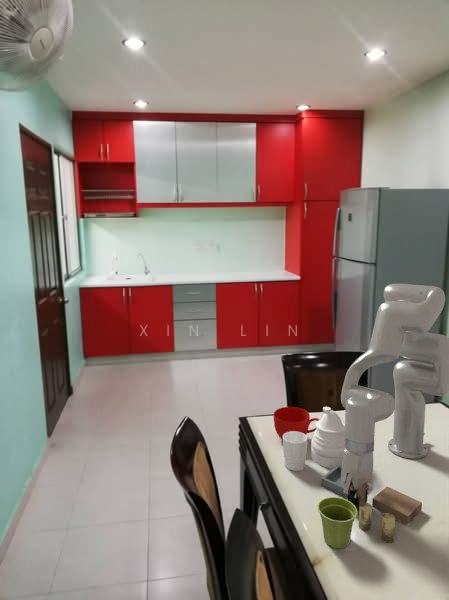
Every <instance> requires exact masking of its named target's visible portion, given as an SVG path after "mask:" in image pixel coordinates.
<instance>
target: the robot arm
mask: <svg viewBox="0 0 449 600" xmlns="http://www.w3.org/2000/svg"><path fill="white" fill-rule="evenodd" d="M384 287H385V288H384V289H383V299H384V302H382V303H381V304H380V305H379V307H378V309H377V312H376V315H375V316H376V317H375V320H374V321H375V322H374V325H373V328H372V334H371V338H370V341H369V345H368V348H367V350H366V351H365V352H364V353H363V354H361V355H360V356H359V357H358V358H356V359H355V361H353V363H352V364H351V365H350V366H349V368H348V369H347V371H346V373H345V378H344V381H343V384H342V388H341V394H340V401H341V405H342V407H343V408H344V409H345V416H344V417H345V419H344V420H345V421H344V423H345V450H344V454H343V460H342V469H341V483H342V484H345V487H344V490H343V492H344V493H346V494H347V495H348V496H347V499H346V500H348V501H350V502H351V503H353V505H355V507H356V509H357V511H358V510H359V497H358V492H359V488H360V487H361V486H362V485H363V484H364V483H365V482H366V489H365V503H368V488H369V485H370V484H369V480H370V479H371V477H372V476H373V474H374V473H373V472H374V452H375V429H376V428H375V427H376V423H378V422H381V421H384V420H387V419H388V418H390V417H391V416H392V414H393V416H394V419H393V436H392V437H393V438H391V439H390V440H388V443H387V447H388V450H389V451H391V453H393V454H394V455H396V456H399V457H402V458H406V459H412V460H413V459H414V460H418V459H423V458H425V457H426V456H427V455H428V453H429V449H428V447H427V445H426V444H424V438H425V437H424V436H425V435H426V433H425V419H426V406H427V405H426V401H425V398H424V395H423V394H428V395H433V396H438V397H445V396H447V395H448V394H449V337H448V336H446V335H444V334H441V333H439V334H438V333H433V332H429V331H430V330H431V329H432V327H433V325H434V324H435V322H436V321H437V319H438V318H439V316H440V314H441V313H442V311H443V309H444V308H445V307H444V306H445V304H446V295H445V291H444V290H443V289H442V288H441V287H438V286H434V285H422V284H420V285H419V284H411V283H410V284H409V283H390V284H387V285H386V286H384ZM400 357H402V358H404V360H400V361H397V360H398V359H399V358H400ZM405 359H407V360H405ZM394 361H397V362H396V364H395V365H394V367H393V373H392V375H393V376H392V378H393V383H394V396H393V395H392V394H390V393H389V392H386V391H382V390H378V389H374V388H370V387H367V386H362V385H358V383H359V380H360V378H361V376H362V375H363V373H364V372H366V371H367V370H368V369H370V368H372V367H375V366H378V365H381V364H385V363H390V362H394ZM351 487H352V488H354V489H355V492H354V491H352V490H351Z"/></svg>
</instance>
